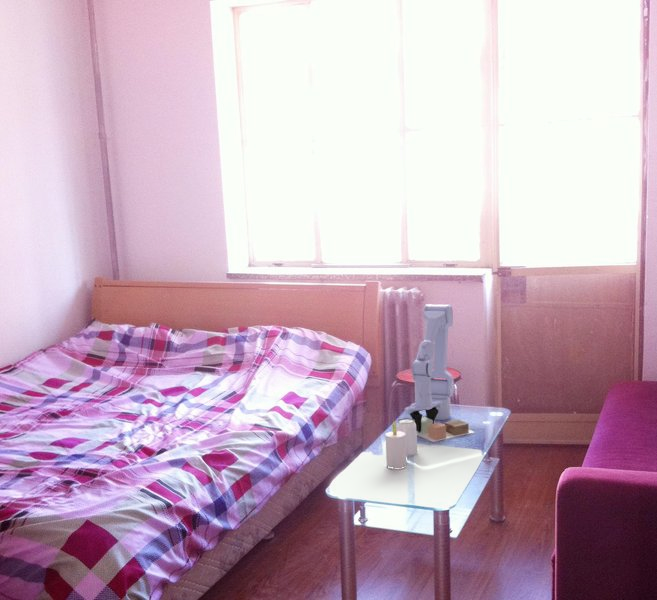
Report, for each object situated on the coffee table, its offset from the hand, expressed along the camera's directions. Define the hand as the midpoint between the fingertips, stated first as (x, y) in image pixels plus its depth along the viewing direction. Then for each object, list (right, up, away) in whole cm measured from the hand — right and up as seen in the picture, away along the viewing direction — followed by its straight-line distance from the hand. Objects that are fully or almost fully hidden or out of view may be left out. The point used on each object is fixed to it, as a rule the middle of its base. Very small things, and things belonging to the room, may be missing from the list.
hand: (424, 429), depth 275 cm
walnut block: (+11, 0, -2) cm, 11 cm away
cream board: (+6, -1, -1) cm, 7 cm away
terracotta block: (+4, -1, -7) cm, 8 cm away
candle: (-13, -7, -29) cm, 33 cm away
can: (-8, -5, -21) cm, 23 cm away
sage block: (0, -1, 0) cm, 1 cm away
